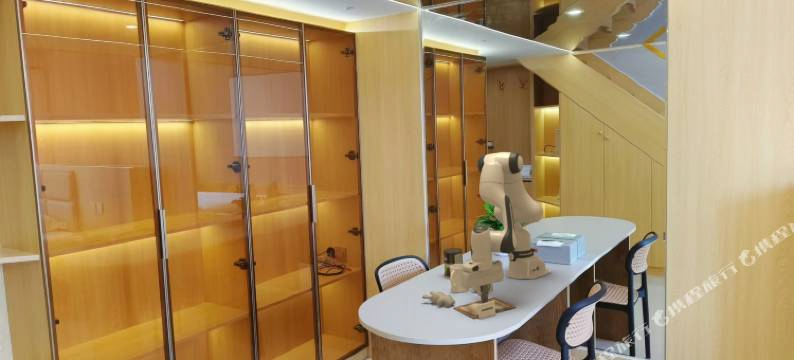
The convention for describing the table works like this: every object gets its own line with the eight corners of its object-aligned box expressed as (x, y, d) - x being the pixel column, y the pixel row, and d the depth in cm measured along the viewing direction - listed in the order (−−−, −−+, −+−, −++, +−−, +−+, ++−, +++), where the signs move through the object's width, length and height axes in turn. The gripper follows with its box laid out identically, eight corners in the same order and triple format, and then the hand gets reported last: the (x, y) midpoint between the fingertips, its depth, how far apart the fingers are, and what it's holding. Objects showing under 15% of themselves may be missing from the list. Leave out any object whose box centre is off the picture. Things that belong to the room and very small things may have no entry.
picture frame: (494, 298, 250) (494, 295, 250) (516, 307, 236) (516, 304, 236) (453, 308, 241) (453, 305, 241) (474, 319, 226) (473, 316, 226)
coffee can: (446, 279, 285) (444, 253, 283) (443, 274, 295) (442, 248, 293) (465, 277, 285) (464, 251, 283) (462, 272, 295) (460, 247, 294)
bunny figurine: (446, 301, 239) (420, 292, 249) (445, 312, 240) (420, 302, 250) (459, 295, 246) (433, 286, 256) (458, 306, 247) (433, 296, 257)
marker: (485, 301, 242) (484, 276, 240) (490, 303, 239) (488, 277, 237) (479, 303, 240) (477, 277, 239) (483, 305, 237) (482, 279, 236)
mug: (457, 295, 258) (455, 271, 257) (443, 292, 264) (441, 268, 262) (472, 288, 266) (470, 264, 265) (458, 286, 272) (456, 262, 271)
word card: (494, 314, 230) (493, 300, 229) (495, 314, 229) (494, 301, 229) (478, 318, 227) (478, 304, 226) (479, 319, 226) (478, 305, 225)
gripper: (497, 258, 245) (499, 287, 246) (459, 266, 236) (461, 297, 237) (506, 260, 239) (507, 291, 241) (467, 269, 230) (469, 301, 232)
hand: (484, 294), depth 239 cm, fingers closed on marker, 3 cm apart
